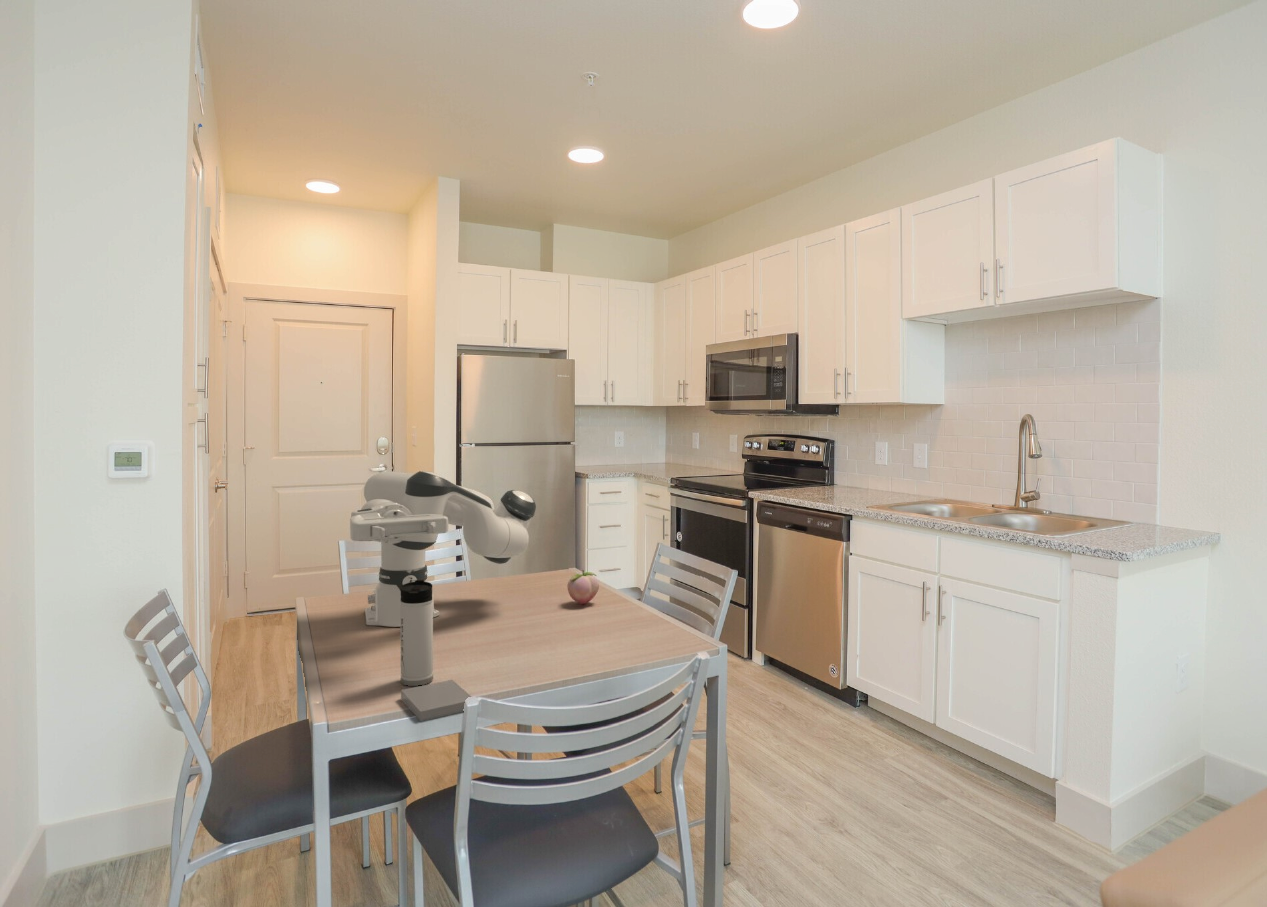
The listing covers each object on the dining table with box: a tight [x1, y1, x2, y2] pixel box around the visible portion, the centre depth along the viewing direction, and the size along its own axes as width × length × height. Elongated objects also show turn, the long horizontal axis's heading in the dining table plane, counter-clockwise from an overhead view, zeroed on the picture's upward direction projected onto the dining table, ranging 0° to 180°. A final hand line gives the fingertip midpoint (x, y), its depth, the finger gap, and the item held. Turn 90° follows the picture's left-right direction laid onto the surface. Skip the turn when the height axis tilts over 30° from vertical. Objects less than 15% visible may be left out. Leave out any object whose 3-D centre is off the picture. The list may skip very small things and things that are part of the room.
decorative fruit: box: [567, 569, 600, 605], centre depth 207 cm, size 9×8×10 cm
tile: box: [400, 679, 472, 722], centre depth 135 cm, size 2×10×12 cm
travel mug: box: [400, 580, 434, 687], centre depth 146 cm, size 6×7×20 cm
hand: (409, 531), depth 149 cm, fingers open, 8 cm apart
